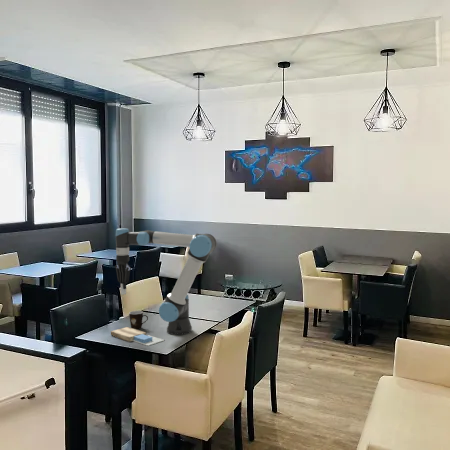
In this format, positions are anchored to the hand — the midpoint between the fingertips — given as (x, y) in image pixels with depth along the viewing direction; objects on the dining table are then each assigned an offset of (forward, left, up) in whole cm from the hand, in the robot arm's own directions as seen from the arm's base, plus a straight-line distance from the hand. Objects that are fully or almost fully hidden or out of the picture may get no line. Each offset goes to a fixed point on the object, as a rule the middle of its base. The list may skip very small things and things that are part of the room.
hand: (123, 294), depth 263 cm
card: (0, +18, -24) cm, 30 cm away
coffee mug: (-13, -4, -25) cm, 28 cm away
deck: (0, +4, -24) cm, 25 cm away
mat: (-2, +20, -24) cm, 32 cm away
